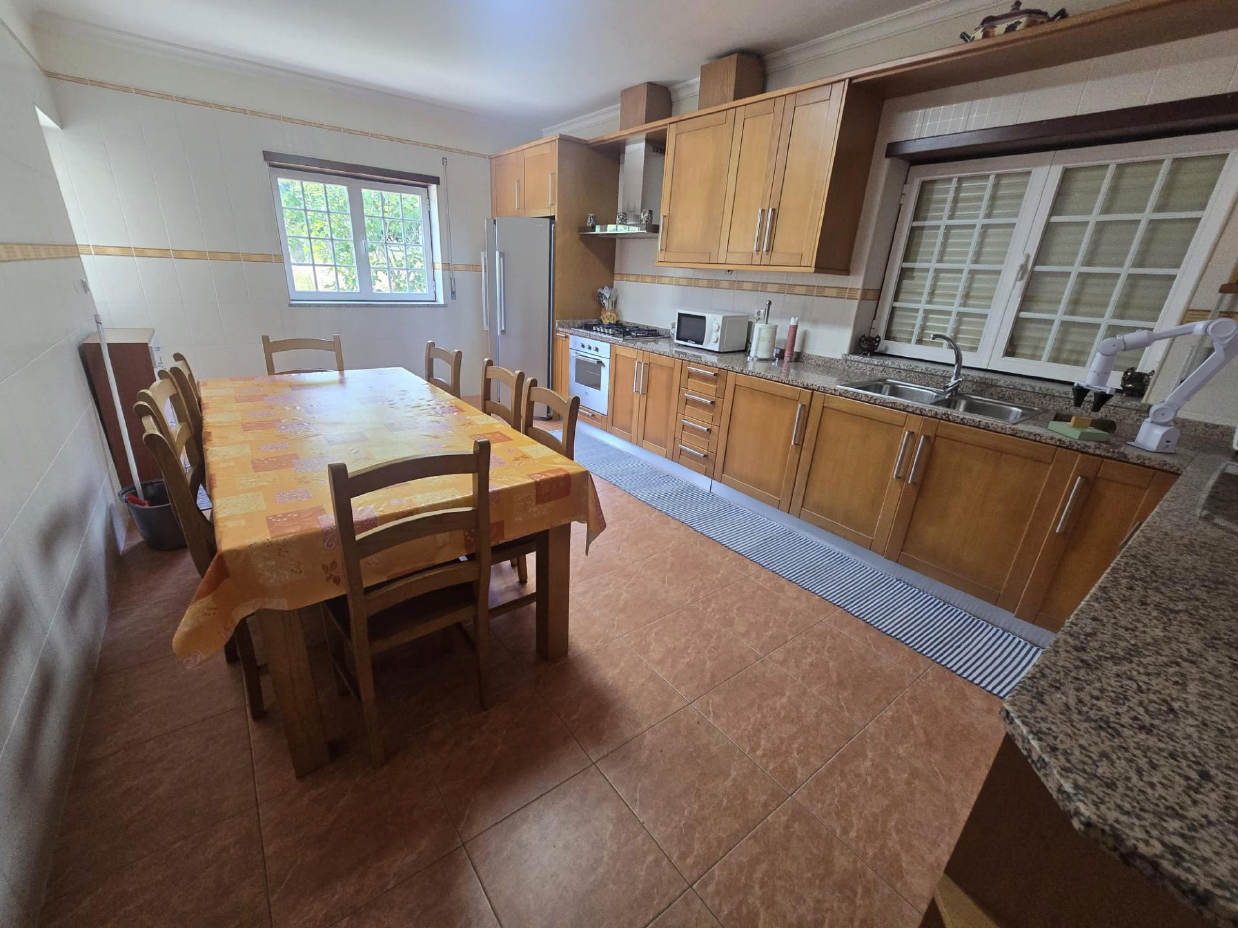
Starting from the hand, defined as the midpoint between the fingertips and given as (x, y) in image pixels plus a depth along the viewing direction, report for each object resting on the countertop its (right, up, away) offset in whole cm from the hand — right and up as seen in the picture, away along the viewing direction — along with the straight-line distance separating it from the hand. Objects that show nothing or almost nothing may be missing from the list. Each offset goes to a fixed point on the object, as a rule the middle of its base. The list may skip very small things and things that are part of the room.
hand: (1085, 409), depth 184 cm
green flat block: (-2, -9, +2) cm, 10 cm away
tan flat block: (-2, -6, +1) cm, 7 cm away
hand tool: (+13, -5, +16) cm, 21 cm away
